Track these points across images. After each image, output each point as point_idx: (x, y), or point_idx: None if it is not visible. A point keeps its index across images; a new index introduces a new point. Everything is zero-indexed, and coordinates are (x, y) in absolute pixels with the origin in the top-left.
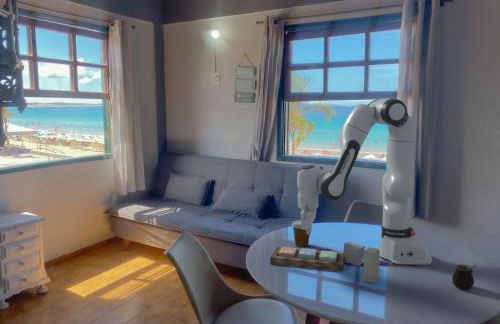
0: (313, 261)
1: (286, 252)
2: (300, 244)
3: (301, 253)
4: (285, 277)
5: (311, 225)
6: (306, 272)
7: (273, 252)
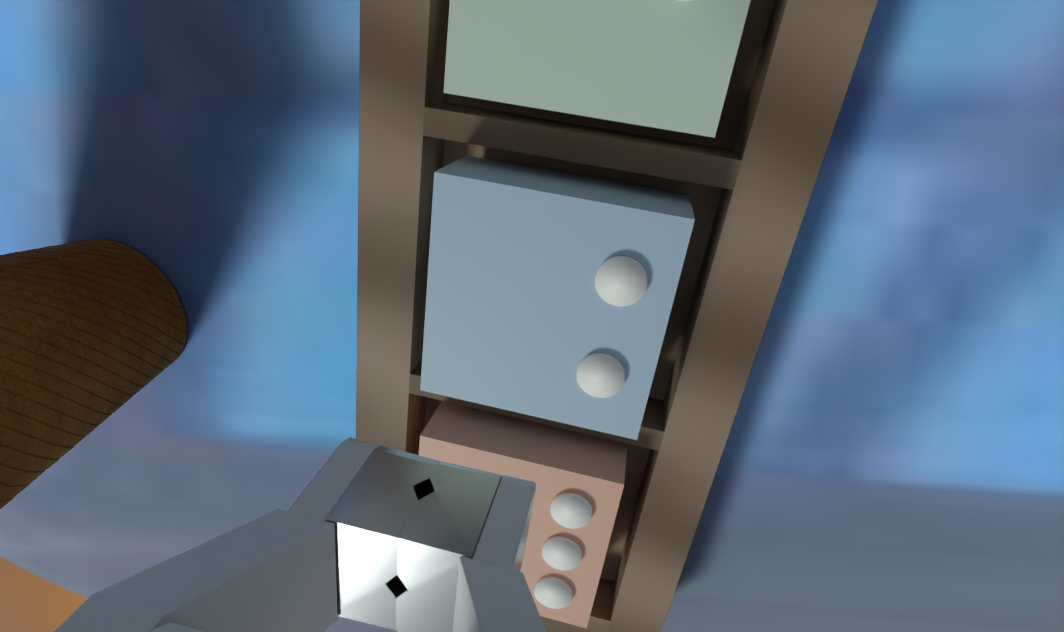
0: (792, 223)
1: (582, 555)
2: (161, 339)
3: (624, 401)
4: (1016, 512)
5: (203, 597)
6: (904, 291)
7: None
